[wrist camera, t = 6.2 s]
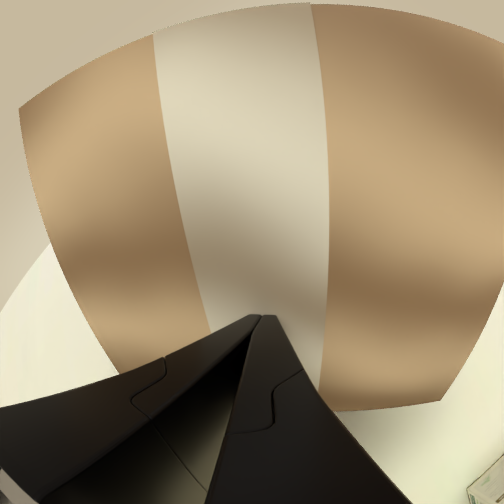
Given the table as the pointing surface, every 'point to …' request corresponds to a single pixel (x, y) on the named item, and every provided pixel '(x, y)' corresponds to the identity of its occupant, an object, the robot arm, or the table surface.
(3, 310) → the table surface
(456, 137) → the lid
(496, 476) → the syrup box
